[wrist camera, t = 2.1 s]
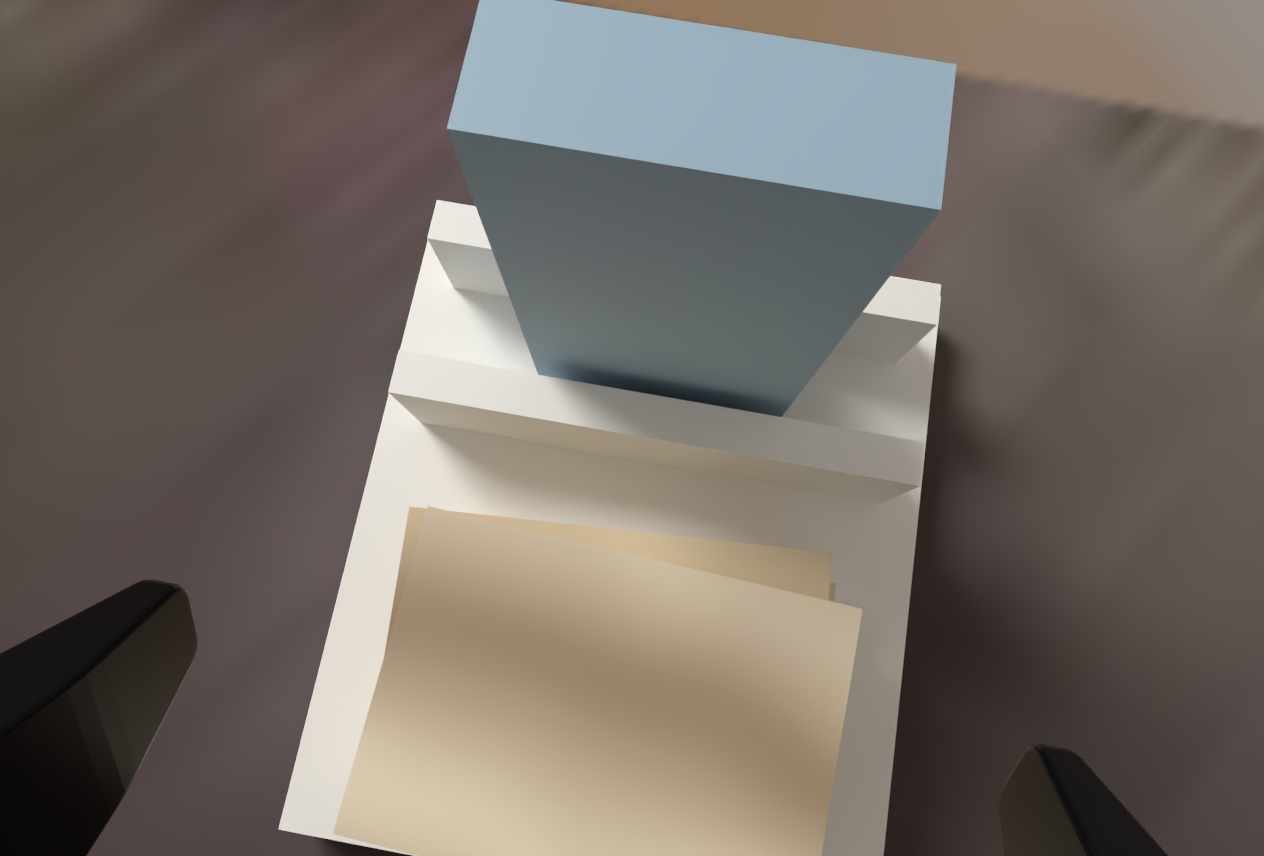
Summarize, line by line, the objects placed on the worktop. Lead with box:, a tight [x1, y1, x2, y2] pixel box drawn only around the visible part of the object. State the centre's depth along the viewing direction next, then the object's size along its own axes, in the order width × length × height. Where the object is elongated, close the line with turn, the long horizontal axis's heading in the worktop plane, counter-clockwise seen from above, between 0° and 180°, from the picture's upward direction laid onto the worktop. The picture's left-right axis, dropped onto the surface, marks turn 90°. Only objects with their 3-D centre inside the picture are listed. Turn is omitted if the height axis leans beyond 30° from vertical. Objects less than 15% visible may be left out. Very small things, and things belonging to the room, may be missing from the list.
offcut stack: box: [333, 506, 863, 856], centre depth 18 cm, size 7×10×4 cm
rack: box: [279, 200, 941, 856], centre depth 20 cm, size 16×14×4 cm
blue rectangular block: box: [447, 0, 956, 417], centre depth 16 cm, size 2×6×12 cm, turn 80°
